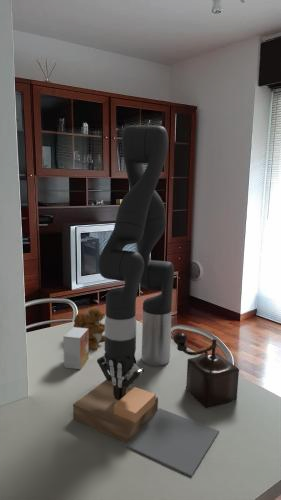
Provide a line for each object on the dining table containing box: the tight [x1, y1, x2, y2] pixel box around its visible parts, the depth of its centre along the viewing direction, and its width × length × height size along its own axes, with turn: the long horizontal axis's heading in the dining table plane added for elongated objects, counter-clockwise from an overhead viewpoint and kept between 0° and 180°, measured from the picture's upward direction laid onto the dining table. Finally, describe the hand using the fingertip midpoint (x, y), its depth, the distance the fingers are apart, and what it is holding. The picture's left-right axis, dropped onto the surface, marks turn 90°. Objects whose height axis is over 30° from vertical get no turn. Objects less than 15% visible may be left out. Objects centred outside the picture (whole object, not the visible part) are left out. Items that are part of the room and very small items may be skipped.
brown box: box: [72, 378, 159, 444], centre depth 93 cm, size 14×16×4 cm
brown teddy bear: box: [73, 305, 106, 350], centre depth 134 cm, size 10×14×13 cm
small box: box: [63, 326, 90, 370], centre depth 118 cm, size 8×6×10 cm
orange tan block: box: [114, 386, 156, 423], centre depth 89 cm, size 9×6×2 cm, turn 148°
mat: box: [124, 407, 220, 478], centre depth 85 cm, size 16×16×1 cm
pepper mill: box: [172, 332, 240, 409], centre depth 101 cm, size 16×11×18 cm
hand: (119, 398), depth 92 cm, fingers closed
